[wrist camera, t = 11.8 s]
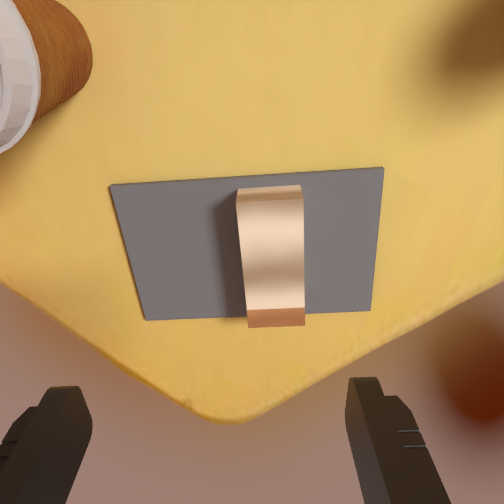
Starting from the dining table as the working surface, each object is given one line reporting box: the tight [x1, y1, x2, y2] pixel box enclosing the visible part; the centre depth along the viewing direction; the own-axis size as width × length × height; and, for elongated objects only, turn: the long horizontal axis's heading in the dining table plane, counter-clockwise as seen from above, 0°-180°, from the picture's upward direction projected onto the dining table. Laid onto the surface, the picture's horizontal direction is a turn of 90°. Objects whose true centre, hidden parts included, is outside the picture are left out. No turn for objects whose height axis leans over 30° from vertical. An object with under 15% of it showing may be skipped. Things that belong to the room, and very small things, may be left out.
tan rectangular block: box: [236, 185, 305, 328], centre depth 32 cm, size 12×5×3 cm, turn 4°
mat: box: [110, 167, 384, 321], centre depth 34 cm, size 22×14×1 cm, turn 94°
